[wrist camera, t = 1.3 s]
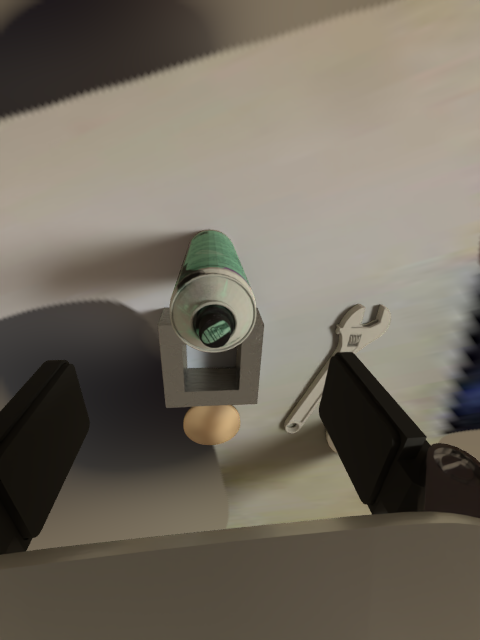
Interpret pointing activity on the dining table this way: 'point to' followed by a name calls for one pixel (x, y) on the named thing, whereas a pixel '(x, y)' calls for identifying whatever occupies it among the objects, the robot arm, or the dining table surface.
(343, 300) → the dining table surface
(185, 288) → the spray can
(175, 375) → the block
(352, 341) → the adjustable wrench
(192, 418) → the coaster
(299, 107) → the dining table surface
